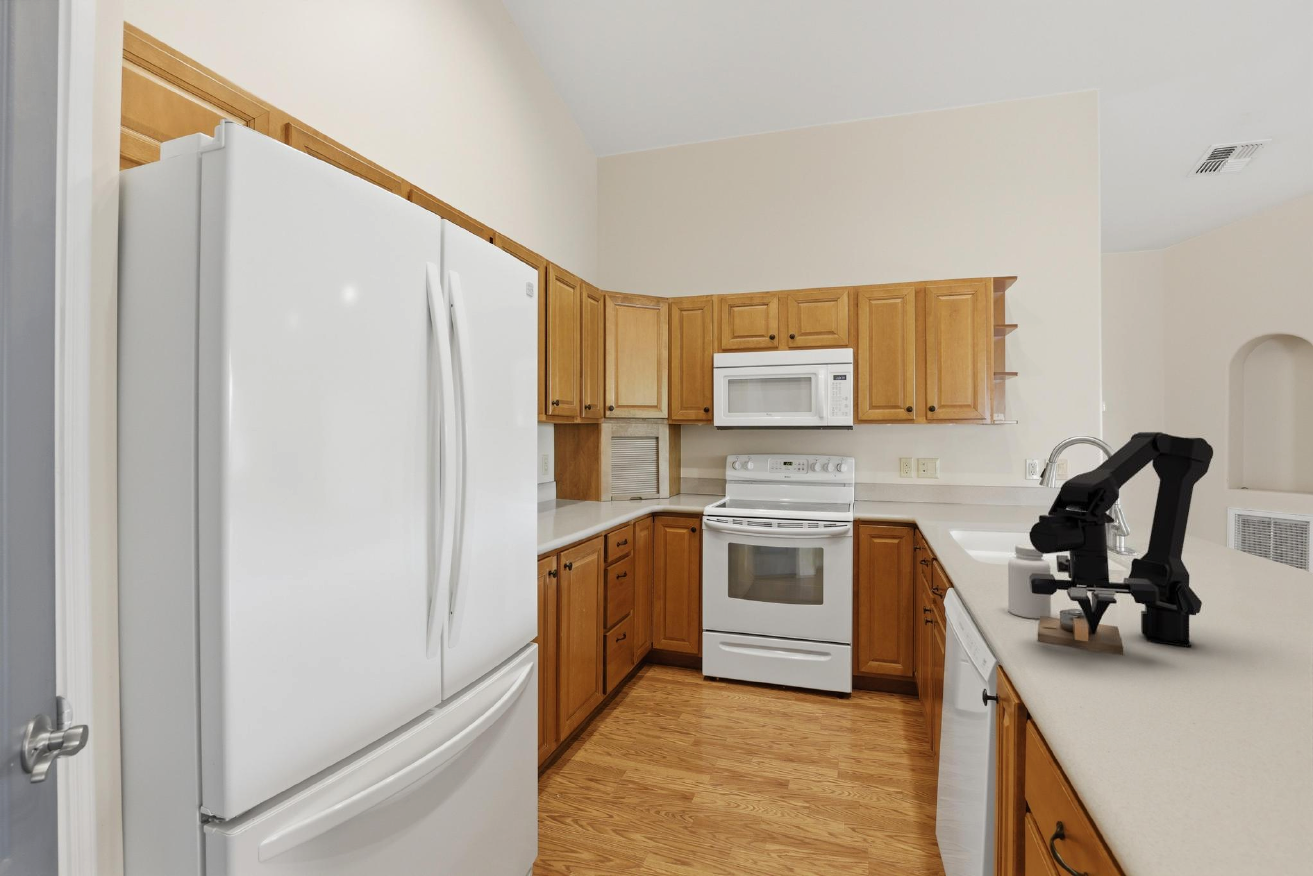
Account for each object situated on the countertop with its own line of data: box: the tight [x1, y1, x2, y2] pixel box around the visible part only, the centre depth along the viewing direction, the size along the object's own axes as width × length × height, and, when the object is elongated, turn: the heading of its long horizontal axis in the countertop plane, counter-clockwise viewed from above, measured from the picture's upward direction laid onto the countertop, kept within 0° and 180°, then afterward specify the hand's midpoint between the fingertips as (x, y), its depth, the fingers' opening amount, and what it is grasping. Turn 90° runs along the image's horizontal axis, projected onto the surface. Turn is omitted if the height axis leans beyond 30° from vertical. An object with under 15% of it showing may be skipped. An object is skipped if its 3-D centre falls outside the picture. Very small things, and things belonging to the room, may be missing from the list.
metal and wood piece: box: [1059, 608, 1097, 642], centre depth 114 cm, size 12×6×3 cm, turn 148°
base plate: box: [1037, 616, 1124, 656], centre depth 116 cm, size 13×13×2 cm
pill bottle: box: [1007, 544, 1052, 620], centre depth 131 cm, size 8×8×15 cm
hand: (1092, 633), depth 109 cm, fingers closed
